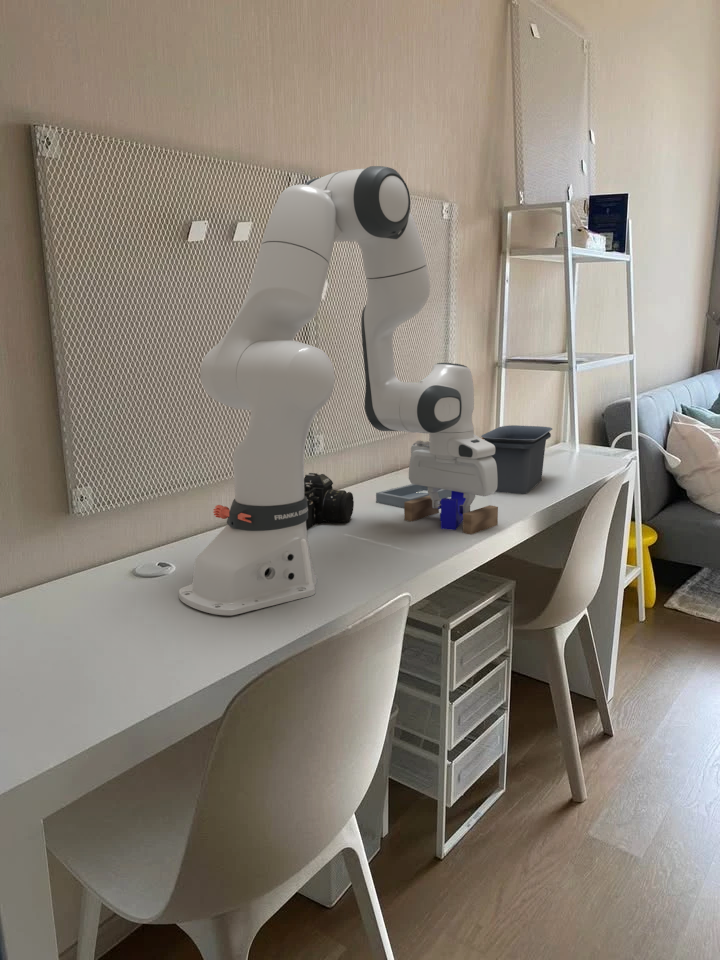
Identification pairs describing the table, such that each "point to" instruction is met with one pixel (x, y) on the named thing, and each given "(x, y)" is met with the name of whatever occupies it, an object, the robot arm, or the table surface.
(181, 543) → the table surface
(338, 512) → the film camera
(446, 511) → the blue curved block
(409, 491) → the slate tray
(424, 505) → the far walnut block
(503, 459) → the storage bin
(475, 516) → the near walnut block
